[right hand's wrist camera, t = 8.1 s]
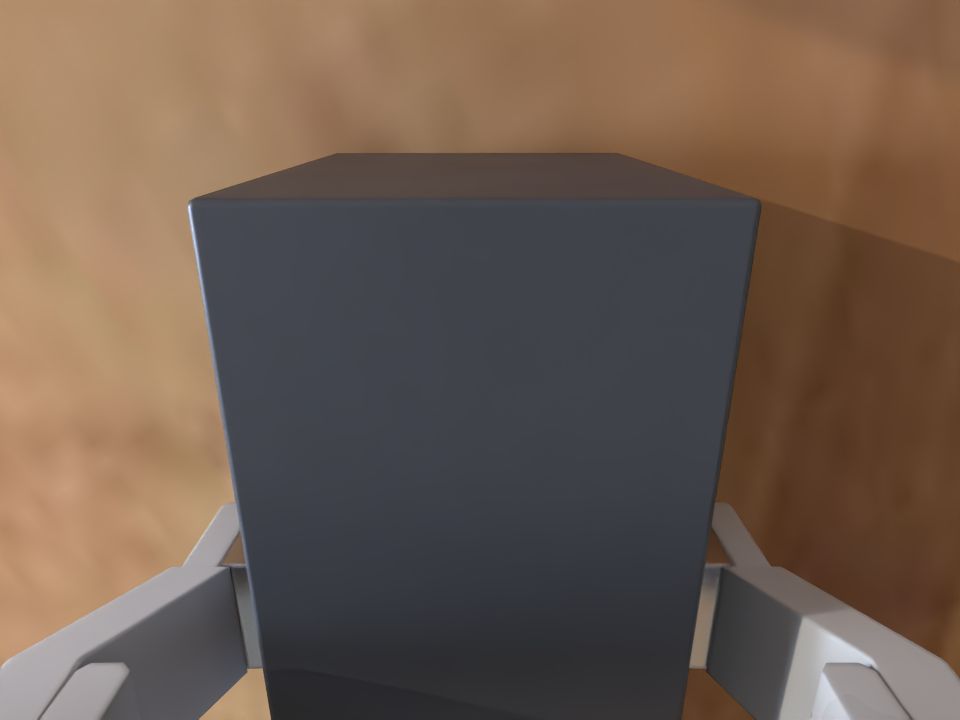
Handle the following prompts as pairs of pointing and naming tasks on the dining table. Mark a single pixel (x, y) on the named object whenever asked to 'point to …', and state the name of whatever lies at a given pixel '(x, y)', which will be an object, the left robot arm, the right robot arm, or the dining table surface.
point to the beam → (475, 426)
